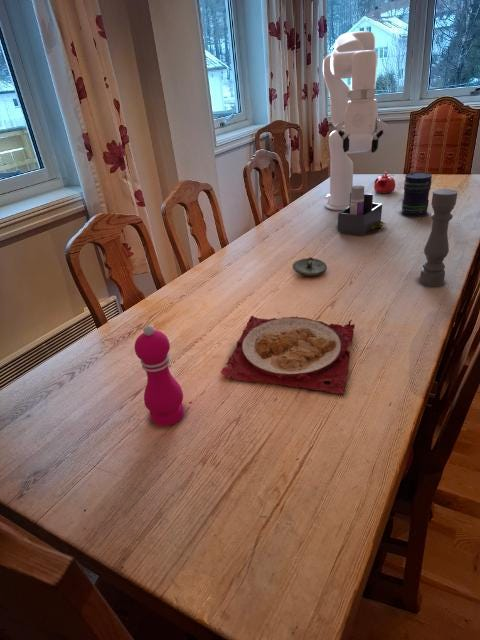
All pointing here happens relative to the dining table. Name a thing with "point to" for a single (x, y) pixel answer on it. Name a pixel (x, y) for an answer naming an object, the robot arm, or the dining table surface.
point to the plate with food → (292, 353)
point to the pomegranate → (384, 184)
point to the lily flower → (378, 225)
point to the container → (357, 200)
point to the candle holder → (438, 238)
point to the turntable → (369, 231)
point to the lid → (309, 266)
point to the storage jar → (416, 194)
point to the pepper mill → (159, 378)
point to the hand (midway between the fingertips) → (359, 151)
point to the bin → (360, 217)
